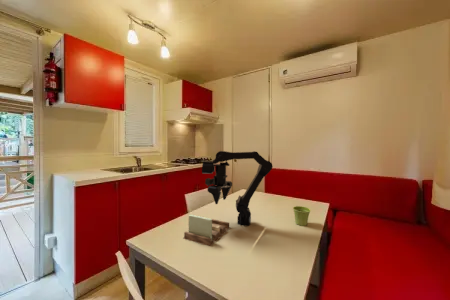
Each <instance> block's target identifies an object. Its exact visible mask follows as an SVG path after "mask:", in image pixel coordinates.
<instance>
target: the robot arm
mask: <svg viewBox="0 0 450 300" xmlns="http://www.w3.org/2000/svg"><path fill="white" fill-rule="evenodd" d="M250 159H253V160H254V161H255V162H256V163H257V164H258V168H257V171H256V174H255V175H254V177H253V179H251V180H252V181H251V182H250V183H249V186H248V187H247V189H246V190H245V192H244V193H243V195H238V198H237V199H236V200H235V208H236V212H237V213H238V215H237V224H238V225H240V226H242V227H249V226H250V225H251V223H252V222H251V221H252V213H251V210H250V208H249V204H250V201H251V199H252V197H253V195H254V194H255V192H256V191H257V189H258V187H259V186H260V184H261V182H262V180H263V179H264V177H266V176H267V175H268V174H269V173H270V172H271V171H272V169H273V166H274V165H273V163H272V162H271V161H269V160H267V159H265V158H264V157H263V156H262V155H260V153H259V152H258V151H242V152H241V151H239V152H238V151H237V152H236V151H235V152H232V151H225V150H219V151H217V152H216V154H215V158H214V159H212V161H206V160H203V161H202V167H201V173H202V174H205V175H206V174H209V175H211V174H213V173H215V175H214V176H213V178H209V177H208V178H205V182H204V185H206V186H207V193H209V194H211V195H212V197H213V201H214V203H215V204H214V205H218V204H219V201H220V198H221V195H222V198H223V199H222V200H223V201H225V200H227V197H228V194H229V193H230V190H231V189H232V187H233V182H232V181H231V180H227V178H228V175H227V167H228V166H230V163H228V161H231V160H250ZM221 191H222V192H221Z"/></svg>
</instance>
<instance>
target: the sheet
mask: <svg viewBox="0 0 450 300" xmlns="http://www.w3.org/2000/svg"><path fill="white" fill-rule="evenodd" d="M212 219H213V218H209V217H204V216H201V215H200V216H199V215H195V214H188V232H190V233H193V234H197V235H201V236H204V237H208V238H211V241H212Z"/></svg>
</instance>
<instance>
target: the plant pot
mask: <svg viewBox="0 0 450 300" xmlns="http://www.w3.org/2000/svg"><path fill="white" fill-rule="evenodd" d="M292 210H293V212H294V213H293V214H294V220H295V221H294V222H295V225H298V226H301V227H305V226H307V225H308V220H309V215H310V212H311V211H312V210H311V209H310V208H309V207H306V206H303V205H302V206H300V205H299V206H298V205H296V206H292Z"/></svg>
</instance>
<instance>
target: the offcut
mask: <svg viewBox="0 0 450 300" xmlns="http://www.w3.org/2000/svg"><path fill="white" fill-rule="evenodd" d="M212 230H213V231H217V232H219V234H220V226H218V225H214V224H212Z"/></svg>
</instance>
